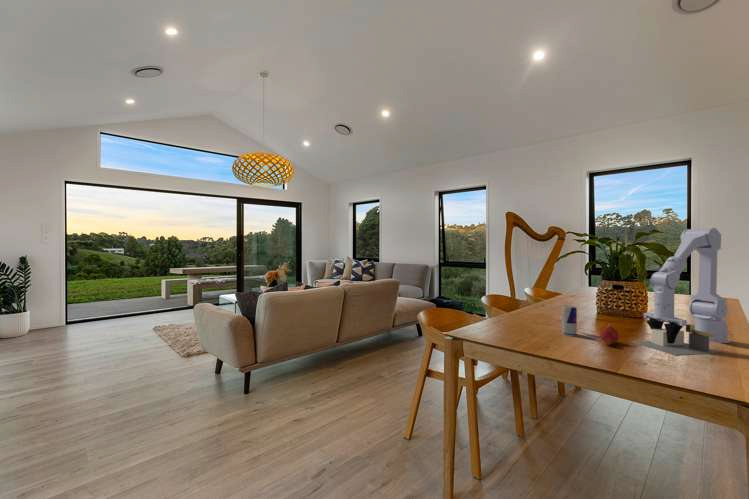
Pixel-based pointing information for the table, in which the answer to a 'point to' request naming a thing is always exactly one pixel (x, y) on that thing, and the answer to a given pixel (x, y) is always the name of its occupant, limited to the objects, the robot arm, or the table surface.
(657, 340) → the cover block
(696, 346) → the slate board
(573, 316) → the energy drink
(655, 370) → the table surface
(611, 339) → the onion
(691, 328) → the brass bolt
